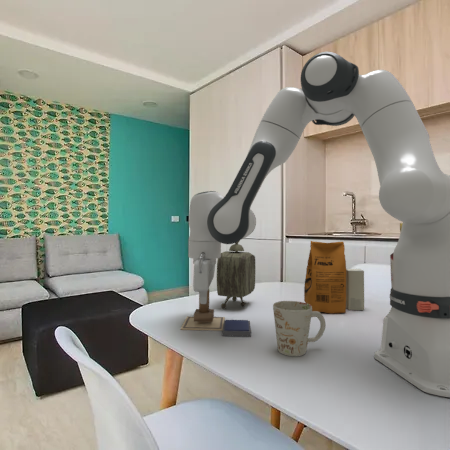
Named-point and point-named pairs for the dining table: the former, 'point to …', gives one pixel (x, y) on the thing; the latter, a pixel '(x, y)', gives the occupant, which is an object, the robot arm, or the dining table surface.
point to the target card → (203, 324)
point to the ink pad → (236, 328)
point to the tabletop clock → (235, 274)
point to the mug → (295, 326)
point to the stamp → (204, 312)
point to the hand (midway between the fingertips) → (204, 301)
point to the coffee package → (326, 278)
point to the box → (354, 289)
